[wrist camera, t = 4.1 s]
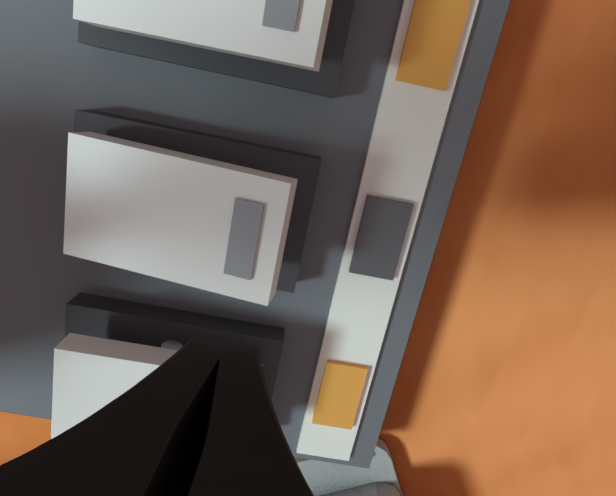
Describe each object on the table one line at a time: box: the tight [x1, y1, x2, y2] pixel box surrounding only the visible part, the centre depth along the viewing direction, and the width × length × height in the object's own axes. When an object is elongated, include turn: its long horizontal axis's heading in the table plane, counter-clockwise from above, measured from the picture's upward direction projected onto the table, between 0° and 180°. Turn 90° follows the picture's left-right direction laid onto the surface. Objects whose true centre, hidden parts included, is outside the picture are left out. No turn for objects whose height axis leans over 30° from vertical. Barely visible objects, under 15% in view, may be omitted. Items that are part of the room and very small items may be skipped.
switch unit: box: [0, 0, 510, 469], centre depth 16 cm, size 17×20×4 cm
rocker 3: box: [51, 333, 263, 439], centre depth 15 cm, size 6×4×1 cm, turn 79°
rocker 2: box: [63, 132, 298, 306], centre depth 13 cm, size 6×4×1 cm, turn 79°
